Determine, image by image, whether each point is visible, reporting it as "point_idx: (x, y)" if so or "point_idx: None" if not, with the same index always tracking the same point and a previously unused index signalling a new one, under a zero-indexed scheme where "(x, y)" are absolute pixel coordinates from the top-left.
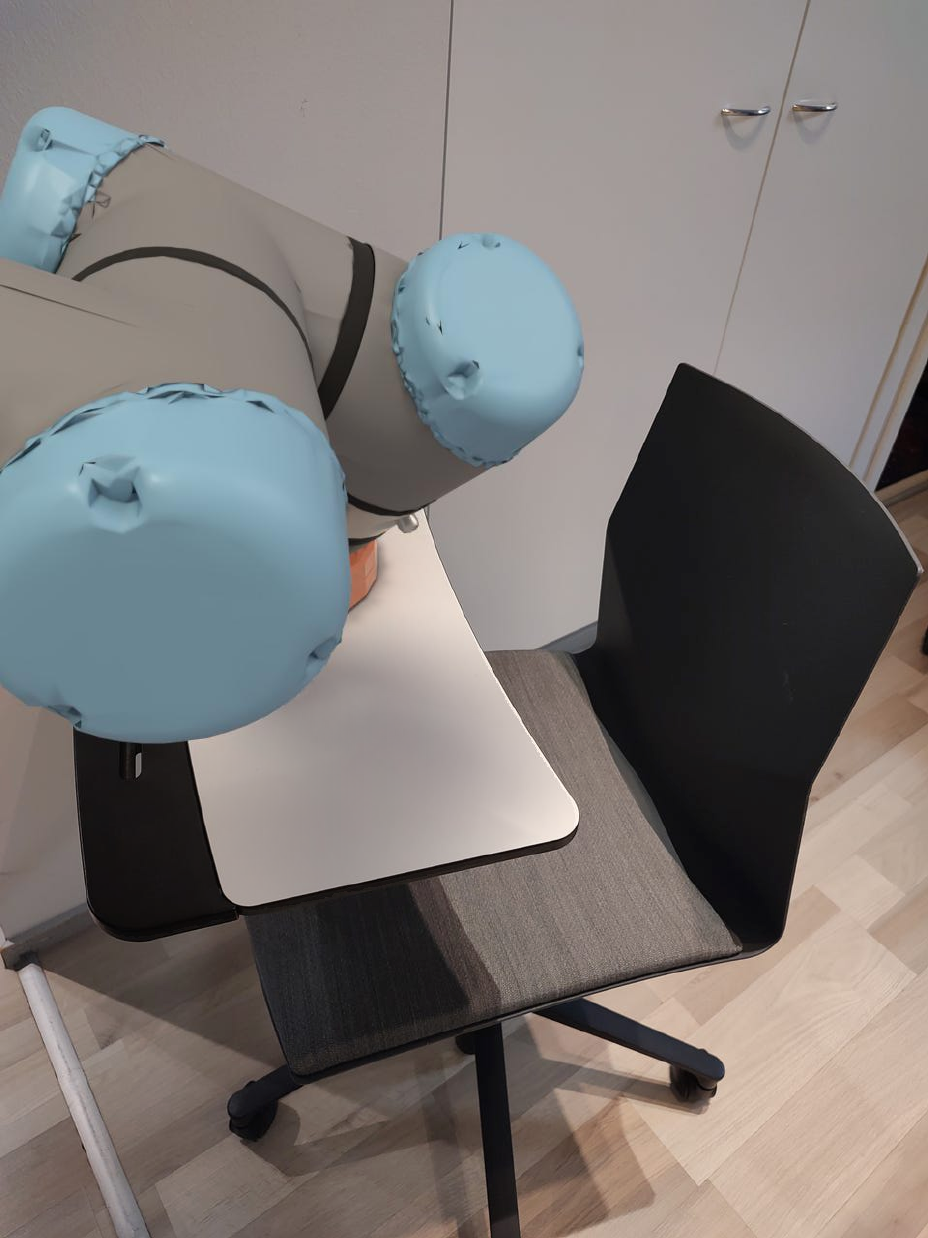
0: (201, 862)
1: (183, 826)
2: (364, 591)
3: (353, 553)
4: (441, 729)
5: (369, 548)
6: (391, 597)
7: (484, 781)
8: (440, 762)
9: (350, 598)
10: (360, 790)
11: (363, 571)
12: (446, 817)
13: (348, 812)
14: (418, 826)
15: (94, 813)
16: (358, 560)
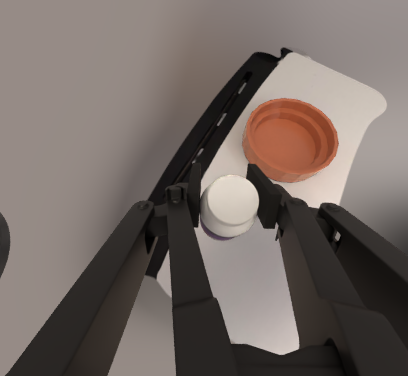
0: (159, 257)
1: (165, 236)
2: (305, 179)
3: (314, 153)
4: (285, 275)
5: (325, 164)
6: (314, 187)
7: (283, 320)
8: (272, 292)
9: (296, 180)
10: (232, 277)
11: (312, 174)
12: (254, 323)
13: (220, 283)
14: (240, 316)
15: None
16: (314, 163)
